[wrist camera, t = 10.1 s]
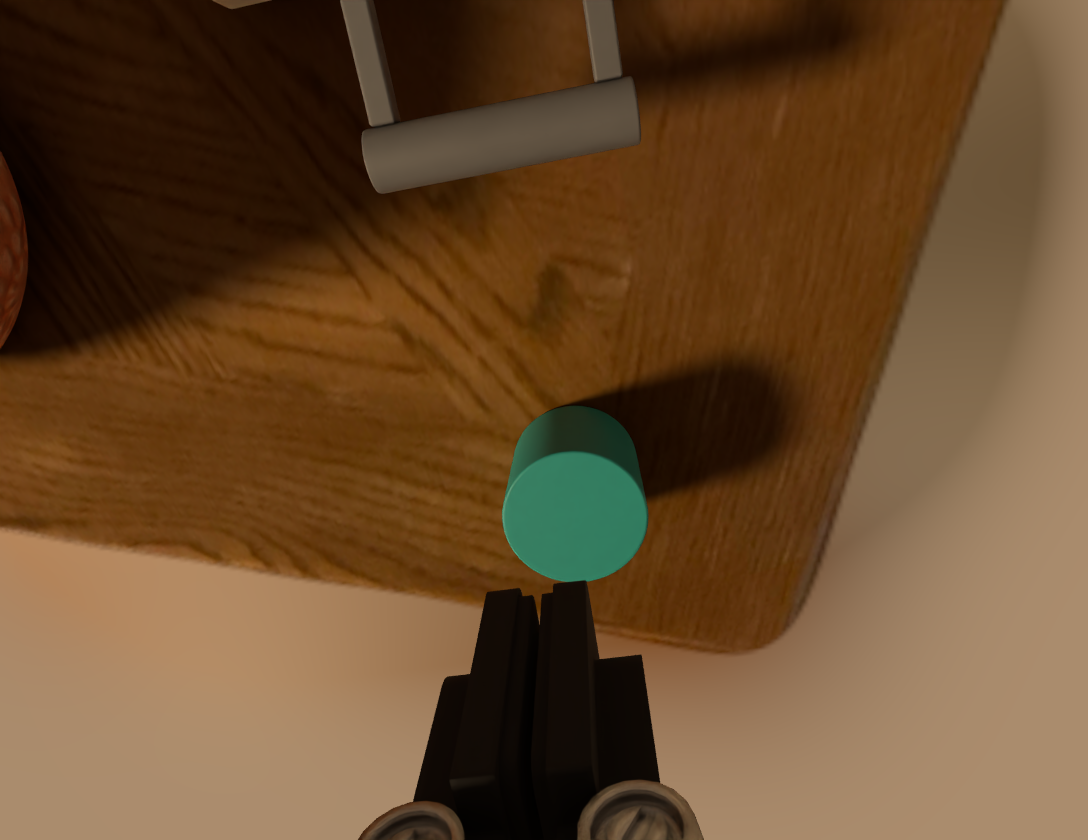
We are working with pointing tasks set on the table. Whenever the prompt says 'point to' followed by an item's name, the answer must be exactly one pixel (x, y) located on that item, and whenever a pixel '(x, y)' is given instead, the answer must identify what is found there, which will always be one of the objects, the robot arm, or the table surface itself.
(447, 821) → the robot arm
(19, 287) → the planter
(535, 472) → the cylinder
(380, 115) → the drawer
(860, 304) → the table surface
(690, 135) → the table surface
